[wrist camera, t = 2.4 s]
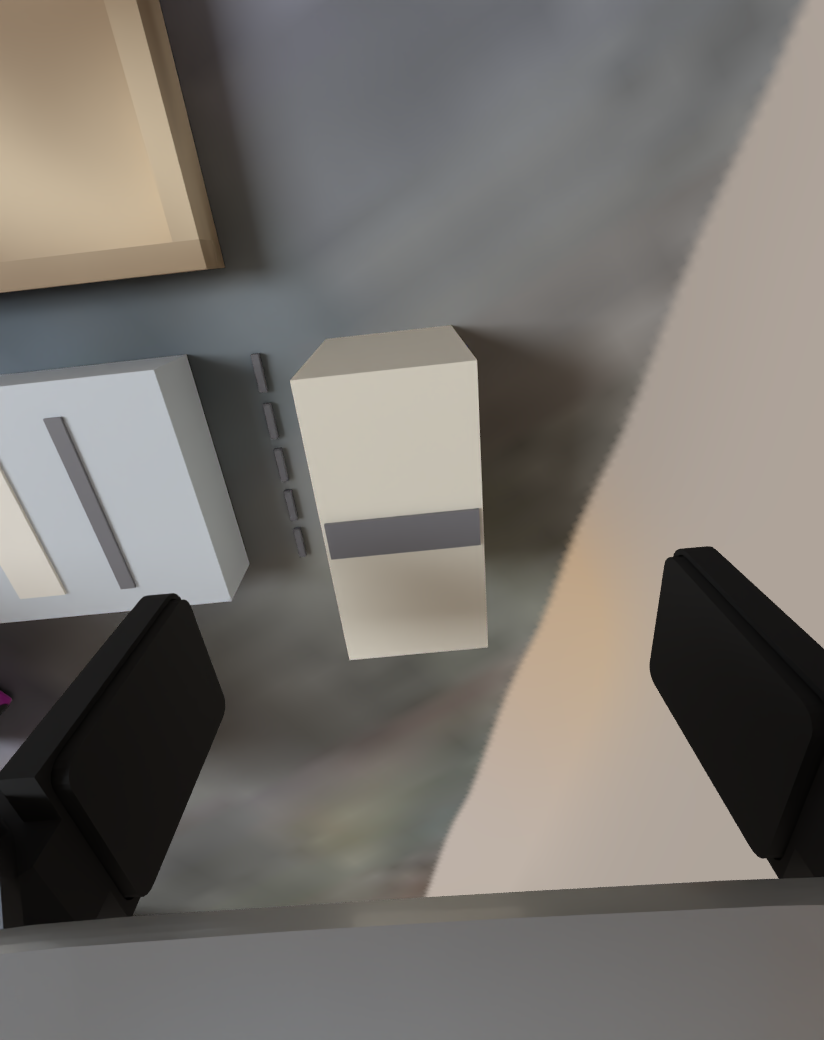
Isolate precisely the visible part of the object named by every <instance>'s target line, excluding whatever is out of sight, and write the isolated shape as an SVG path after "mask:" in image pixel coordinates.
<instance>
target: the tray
mask: <svg viewBox="0 0 824 1040" xmlns="http://www.w3.org/2000/svg"><path fill="white" fill-rule="evenodd" d="M217 268H225V265H224V261H223V257H222V253H221V249H220V245H219V241H218V237H217V233H216V229H215V225H214V221H213V217H212V213H211V209H210V205H209V201H208V197H207V192H206V188H205V184H204V180H203V176H202V172H201V168H200V164H199V160H198V156H197V152H196V148H195V144H194V140H193V136H192V132H191V128H190V124H189V120H188V116H187V112H186V108H185V103H184V99H183V95H182V91H181V87H180V83H179V79H178V75H177V71H176V67H175V63H174V59H173V55H172V51H171V47H170V43H169V39H168V35H167V31H166V27H165V23H164V18H163V14H162V10H161V6H160V2H159V0H0V293H7V292H16V291H25V290H33V289H42V288H51V287H60V286H68V285H77V284H86V283H95V282H103V281H112V280H121V279H130V278H138V277H147V276H156V275H165V274H173V273H182V272H191V271H200V270H208V269H217Z"/></svg>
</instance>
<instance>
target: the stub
mask: <svg viewBox="0 0 824 1040" xmlns="http://www.w3.org/2000/svg"><path fill="white" fill-rule="evenodd" d="M290 383H291V388H292V392H293V397H294V402H295V406H296V411H297V416H298V421H299V425H300V430H301V435H302V439H303V444H304V449H305V453H306V458H307V463H308V467H309V472H310V477H311V482H312V486H313V491H314V496H315V500H316V505H317V510H318V514H319V519H320V524H321V528H322V533H323V538H324V542H325V547H326V552H327V557H328V561H329V566H330V571H331V575H332V580H333V585H334V589H335V594H336V599H337V603H338V608H339V613H340V618H341V622H342V627H343V632H344V636H345V641H346V646H347V650H348V655H349V660H356V659H367V658H377V657H388V656H399V655H410V654H421V653H432V652H443V651H453V650H464V649H475V648H486V647H488V633H487V607H486V581H485V554H484V528H483V502H482V475H481V449H480V423H479V396H478V370H477V359H476V358H475V357H474V355H473V354H472V353H471V351H470V350H469V349H468V347H467V346H466V344H465V343H464V342H463V340H462V339H461V338H460V336H459V335H458V334H457V332H456V331H455V330H454V328H453V327H452V325H449V326H440V327H430V328H421V329H412V330H403V331H394V332H385V333H376V334H367V335H358V336H349V337H340V338H331V339H326V340H325V341H324V342H323V343H322V344H321V345H320V346H319V348H318V349H317V350H316V351H315V352H314V353H313V354H312V356H311V357H310V358H309V359H308V360H307V361H306V363H305V364H304V365H303V366H302V367H301V368H300V369H299V371H298V372H297V373H296V374H295V375H294V376H293V378H292V379H291V380H290Z"/></svg>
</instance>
